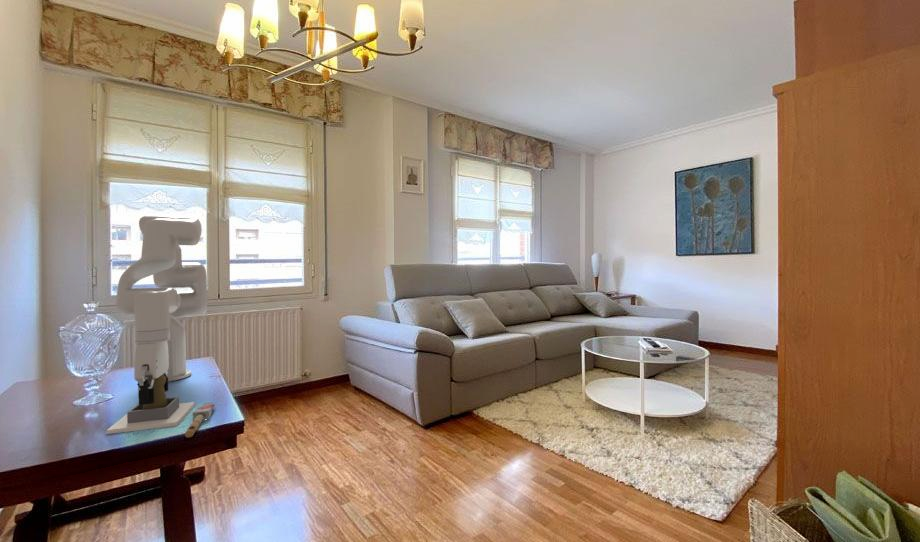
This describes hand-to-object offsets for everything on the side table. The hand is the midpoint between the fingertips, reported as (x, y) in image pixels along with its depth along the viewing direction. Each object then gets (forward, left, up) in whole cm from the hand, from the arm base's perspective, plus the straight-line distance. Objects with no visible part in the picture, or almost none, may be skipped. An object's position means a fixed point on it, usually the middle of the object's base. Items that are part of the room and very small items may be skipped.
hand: (154, 397), depth 107 cm
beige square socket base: (0, 0, -6) cm, 6 cm away
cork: (-1, 0, -5) cm, 5 cm away
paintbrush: (+6, +12, -6) cm, 15 cm away
